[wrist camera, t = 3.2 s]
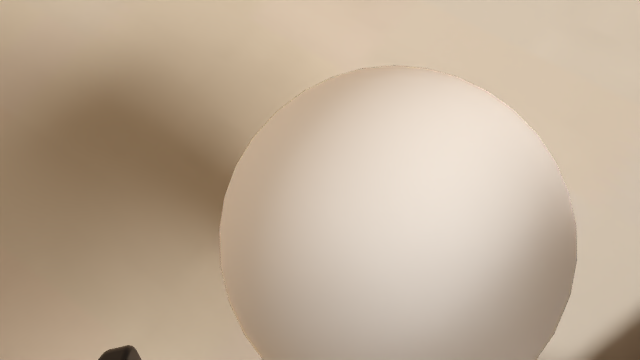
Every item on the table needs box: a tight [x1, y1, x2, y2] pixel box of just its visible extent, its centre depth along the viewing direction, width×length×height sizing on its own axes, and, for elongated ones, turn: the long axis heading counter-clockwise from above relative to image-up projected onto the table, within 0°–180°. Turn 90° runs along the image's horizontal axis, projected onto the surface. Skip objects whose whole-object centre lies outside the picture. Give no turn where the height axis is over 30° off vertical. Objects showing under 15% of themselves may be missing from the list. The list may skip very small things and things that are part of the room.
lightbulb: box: [219, 65, 577, 360], centre depth 12 cm, size 6×6×11 cm
